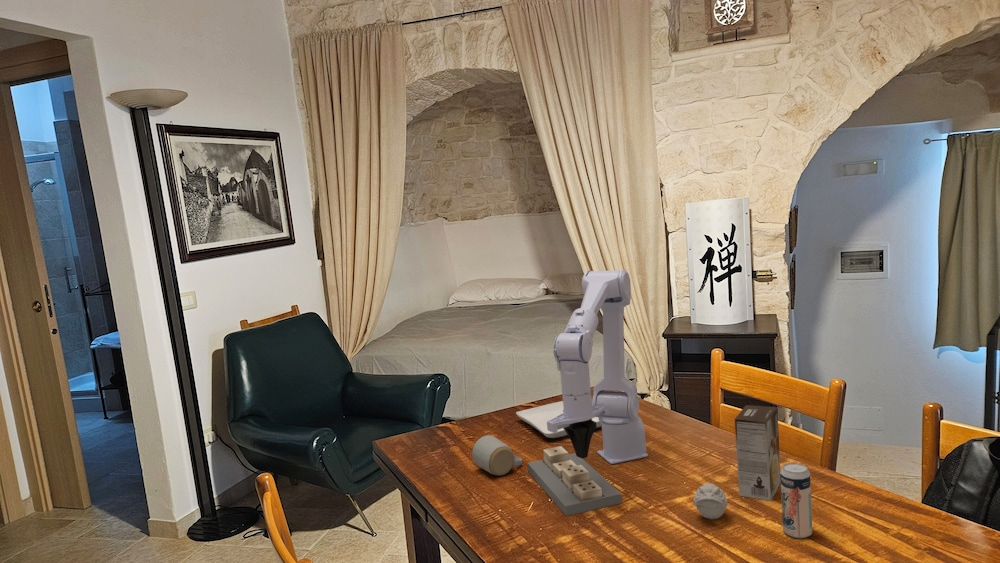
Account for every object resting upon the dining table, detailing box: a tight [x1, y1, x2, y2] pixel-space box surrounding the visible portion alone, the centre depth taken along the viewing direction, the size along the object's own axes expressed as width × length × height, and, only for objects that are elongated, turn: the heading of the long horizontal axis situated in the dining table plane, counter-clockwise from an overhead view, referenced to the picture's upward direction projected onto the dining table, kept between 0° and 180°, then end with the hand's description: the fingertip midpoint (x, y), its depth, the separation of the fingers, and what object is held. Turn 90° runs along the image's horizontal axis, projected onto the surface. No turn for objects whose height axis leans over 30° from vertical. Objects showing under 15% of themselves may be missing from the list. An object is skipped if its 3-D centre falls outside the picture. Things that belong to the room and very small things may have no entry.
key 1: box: [542, 445, 569, 469], centre depth 154 cm, size 4×4×3 cm
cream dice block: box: [553, 460, 577, 479], centre depth 149 cm, size 4×4×3 cm
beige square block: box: [573, 480, 602, 502], centre depth 137 cm, size 4×4×3 cm
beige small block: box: [562, 465, 590, 490], centre depth 143 cm, size 4×4×3 cm
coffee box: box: [734, 404, 781, 501], centre depth 135 cm, size 9×6×16 cm
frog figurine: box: [693, 482, 729, 520], centre depth 126 cm, size 6×7×7 cm
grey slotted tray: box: [526, 453, 623, 517], centre depth 146 cm, size 12×24×2 cm, turn 16°
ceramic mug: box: [471, 434, 523, 477], centre depth 158 cm, size 11×8×8 cm
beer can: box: [780, 462, 814, 539], centre depth 118 cm, size 5×5×12 cm
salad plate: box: [515, 400, 602, 439], centre depth 185 cm, size 21×21×3 cm
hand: (582, 456), depth 138 cm, fingers closed
